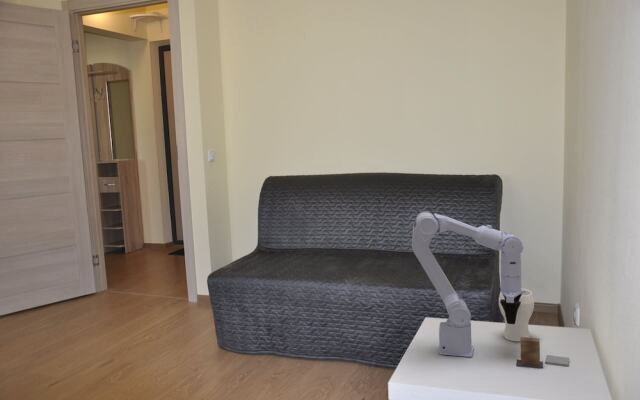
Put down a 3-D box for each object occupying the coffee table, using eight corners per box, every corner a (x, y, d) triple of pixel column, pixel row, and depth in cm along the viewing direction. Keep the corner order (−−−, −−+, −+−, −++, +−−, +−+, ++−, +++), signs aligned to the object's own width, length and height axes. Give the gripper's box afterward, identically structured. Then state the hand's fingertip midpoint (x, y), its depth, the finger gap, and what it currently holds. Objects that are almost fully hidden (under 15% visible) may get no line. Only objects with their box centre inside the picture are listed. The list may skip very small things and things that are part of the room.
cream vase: (530, 345, 168) (530, 298, 166) (495, 340, 174) (494, 294, 172) (537, 334, 177) (536, 289, 175) (504, 330, 183) (503, 286, 181)
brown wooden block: (520, 364, 154) (520, 340, 153) (521, 360, 156) (520, 337, 156) (539, 365, 152) (539, 341, 151) (539, 362, 154) (539, 338, 154)
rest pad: (516, 366, 154) (516, 364, 154) (516, 360, 158) (516, 359, 157) (543, 368, 151) (543, 367, 151) (542, 362, 155) (542, 361, 155)
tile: (544, 361, 154) (568, 364, 151) (546, 354, 159) (569, 357, 156) (545, 365, 154) (568, 368, 152) (546, 358, 159) (569, 361, 156)
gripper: (524, 281, 154) (525, 328, 155) (526, 269, 167) (526, 312, 168) (498, 280, 156) (499, 326, 158) (501, 268, 170) (502, 311, 171)
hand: (511, 319), depth 163 cm, fingers open, 7 cm apart
